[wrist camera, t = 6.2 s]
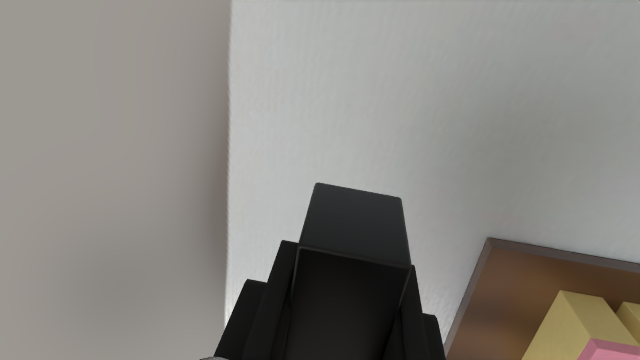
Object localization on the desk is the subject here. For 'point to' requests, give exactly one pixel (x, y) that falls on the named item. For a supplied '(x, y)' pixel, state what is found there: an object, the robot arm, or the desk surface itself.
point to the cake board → (528, 296)
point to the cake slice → (581, 332)
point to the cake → (630, 318)
